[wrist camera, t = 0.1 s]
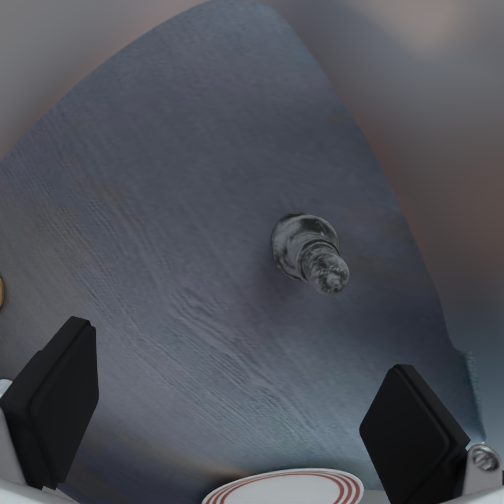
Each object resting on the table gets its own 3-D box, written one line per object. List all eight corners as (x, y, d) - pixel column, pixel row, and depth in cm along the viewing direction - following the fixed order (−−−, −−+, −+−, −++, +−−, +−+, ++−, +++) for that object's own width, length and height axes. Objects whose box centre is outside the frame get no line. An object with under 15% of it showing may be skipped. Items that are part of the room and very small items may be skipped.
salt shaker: (282, 278, 32) (311, 341, 21) (257, 225, 31) (275, 265, 19) (335, 252, 32) (389, 301, 20) (314, 198, 30) (364, 223, 19)
